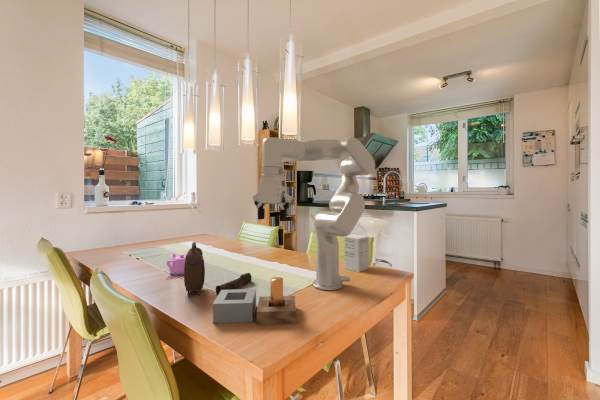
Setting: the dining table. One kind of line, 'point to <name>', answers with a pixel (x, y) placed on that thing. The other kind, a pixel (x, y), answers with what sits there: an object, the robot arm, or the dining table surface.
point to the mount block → (276, 311)
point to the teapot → (177, 264)
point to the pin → (276, 292)
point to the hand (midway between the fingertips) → (271, 220)
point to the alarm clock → (194, 269)
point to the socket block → (234, 306)
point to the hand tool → (235, 283)
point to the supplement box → (356, 252)
